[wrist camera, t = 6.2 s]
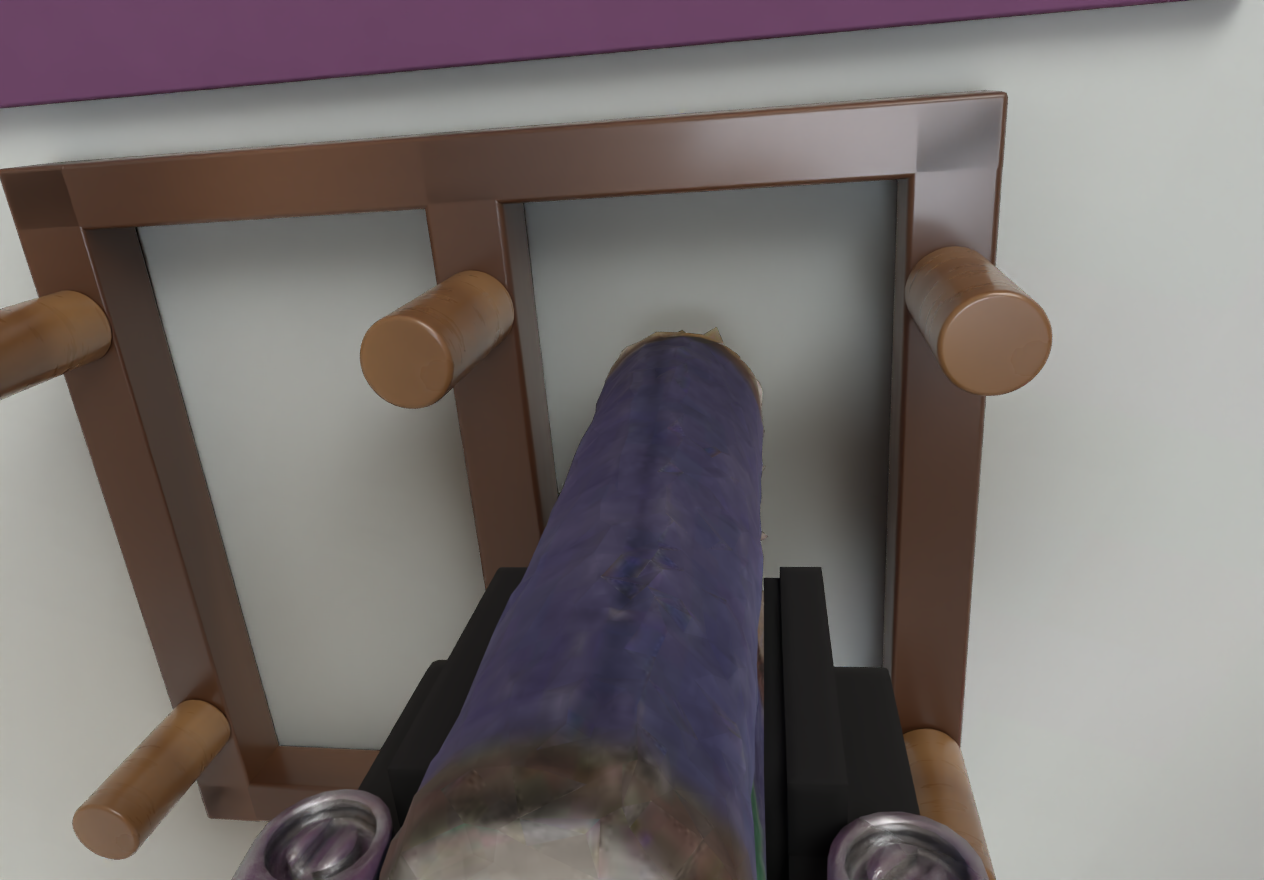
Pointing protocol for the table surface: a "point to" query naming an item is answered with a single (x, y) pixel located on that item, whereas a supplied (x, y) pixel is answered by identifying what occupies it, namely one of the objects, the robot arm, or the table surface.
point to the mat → (397, 36)
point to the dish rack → (506, 386)
